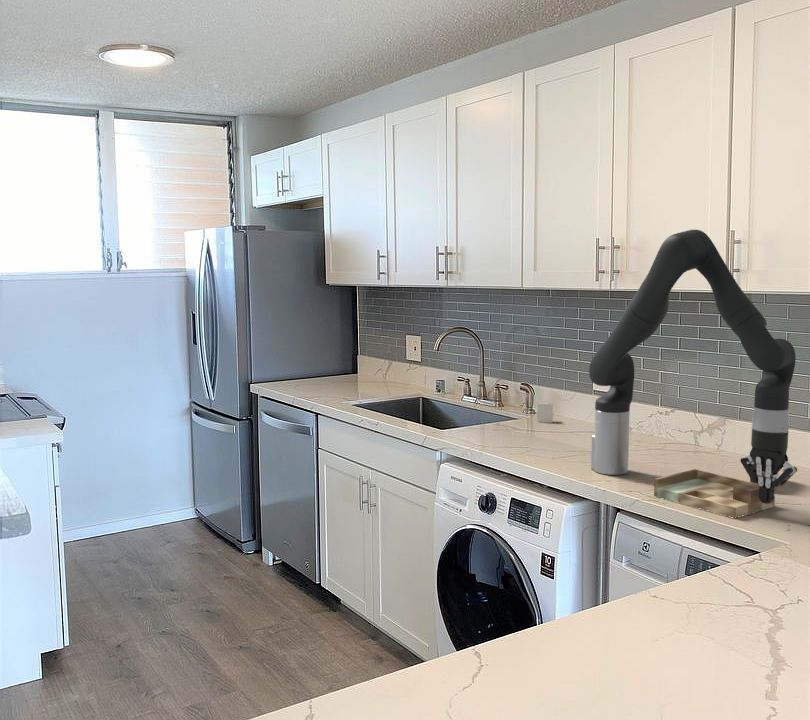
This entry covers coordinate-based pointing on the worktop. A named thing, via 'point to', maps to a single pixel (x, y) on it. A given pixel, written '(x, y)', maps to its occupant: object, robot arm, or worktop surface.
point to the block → (746, 493)
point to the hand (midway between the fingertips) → (766, 502)
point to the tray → (706, 492)
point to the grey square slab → (545, 413)
